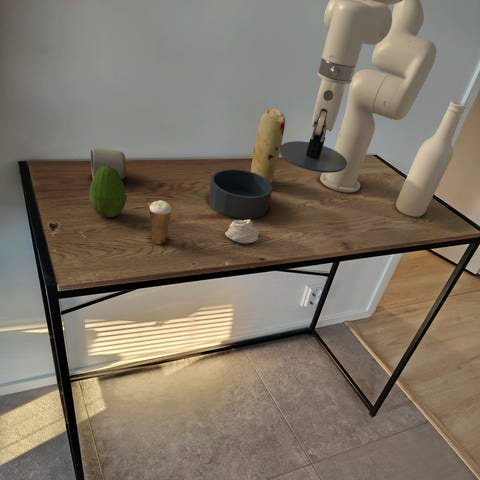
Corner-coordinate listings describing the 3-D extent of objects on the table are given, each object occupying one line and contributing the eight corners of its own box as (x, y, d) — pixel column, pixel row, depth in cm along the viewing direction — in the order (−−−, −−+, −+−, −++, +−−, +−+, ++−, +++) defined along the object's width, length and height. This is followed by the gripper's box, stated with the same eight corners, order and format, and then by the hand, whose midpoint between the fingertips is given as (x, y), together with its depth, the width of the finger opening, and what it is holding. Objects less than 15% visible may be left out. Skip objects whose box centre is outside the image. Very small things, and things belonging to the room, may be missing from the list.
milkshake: (147, 232, 99) (148, 192, 92) (170, 236, 99) (173, 196, 93) (143, 243, 96) (143, 202, 89) (167, 247, 96) (170, 206, 89)
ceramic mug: (127, 184, 114) (126, 155, 109) (94, 185, 111) (92, 155, 106) (120, 167, 121) (119, 139, 116) (89, 167, 118) (87, 138, 113)
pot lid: (285, 140, 114) (290, 117, 110) (348, 156, 113) (355, 134, 109) (271, 162, 102) (277, 138, 98) (342, 181, 100) (350, 157, 96)
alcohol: (390, 208, 129) (436, 100, 109) (400, 199, 135) (446, 95, 115) (417, 220, 126) (471, 111, 106) (427, 211, 132) (479, 106, 112)
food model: (276, 190, 126) (293, 118, 112) (255, 190, 123) (269, 117, 110) (265, 175, 132) (280, 105, 119) (244, 174, 130) (257, 103, 117)
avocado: (115, 227, 99) (114, 176, 91) (84, 217, 99) (79, 166, 91) (132, 212, 104) (132, 163, 96) (102, 202, 105) (99, 154, 97)
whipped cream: (231, 249, 101) (233, 233, 97) (218, 232, 105) (220, 215, 101) (261, 242, 104) (264, 226, 100) (247, 226, 108) (251, 209, 104)
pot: (219, 184, 123) (222, 163, 119) (273, 199, 121) (278, 179, 117) (200, 207, 111) (202, 186, 107) (259, 225, 110) (263, 203, 106)
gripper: (350, 83, 88) (324, 171, 100) (356, 67, 100) (332, 147, 112) (314, 74, 88) (292, 162, 101) (324, 59, 100) (303, 140, 113)
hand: (313, 153), depth 106 cm, fingers closed on pot lid, 2 cm apart
